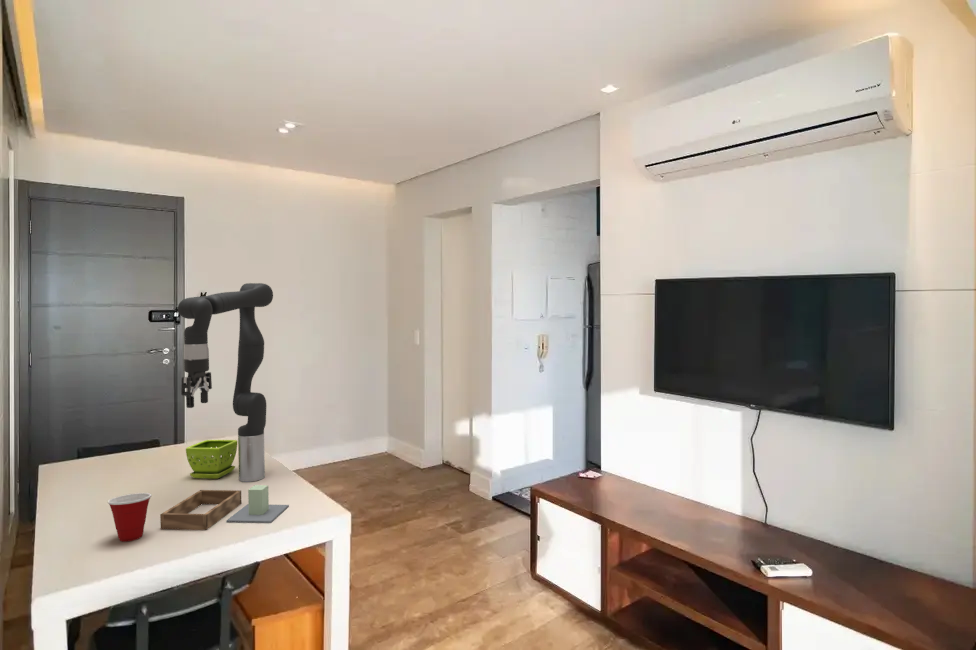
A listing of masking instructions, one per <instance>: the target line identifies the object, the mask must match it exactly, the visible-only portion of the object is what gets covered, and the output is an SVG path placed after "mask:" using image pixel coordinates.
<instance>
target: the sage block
mask: <svg viewBox="0 0 976 650" xmlns="http://www.w3.org/2000/svg"><path fill="white" fill-rule="evenodd" d="M247 492H248V495H247V497H248V498H247V499H248V503H247V504H248V505H249V515H263V514H264V513H265V512H267V511H268V510H269V505H270V504H269V503H270V502H269V500H270V499H269V498H270V497H269V485H267V484H266V485H265V484H263V485H261V484H255V485H253V486H251V487H250V488H249V489H248V490H247Z"/></svg>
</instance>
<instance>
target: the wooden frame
mask: <svg viewBox="0 0 976 650" xmlns="http://www.w3.org/2000/svg"><path fill="white" fill-rule="evenodd" d="M201 504H202V505H215V506H214V507H212V508H210V509H209V510H208V511H207V512H205V513H191V512H192V510H193V511H194V510H196V509H197V508H198V506H199V507H200V506H201ZM241 505H242V490H238V489H237V490H233V489H230V490H227V489H226V490H225V489H223V490H222V489H221V490H219V489H200V490H198V491H197V492H195V493H193V494H192V495H190V496H188V497H187V498H184V499H183V500H182V501H180V502H178V503H177V504H174V505H173V506H172V507H170V508H168V509H167V510H165V511H163V512H162V513H160V514H159V515H160V517H159V518H160V519H159V520H160V521H159V523H160V530H176V531H177V530H179V531H180V530H182V531H184V530H186V531H187V530H188V531H189V530H190V531H191V530H192V531H207V530H208V529H210V528H211V527H212V526H214V525H215V524H217V522H219V521H220V520H222V519H224V518H225V517H226V516H227V515H228V514H230V513H231V512H232V511H234V510H235V509H237V508H238V507H239V506H241ZM195 508H196V509H195ZM221 518H222V519H221Z"/></svg>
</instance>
